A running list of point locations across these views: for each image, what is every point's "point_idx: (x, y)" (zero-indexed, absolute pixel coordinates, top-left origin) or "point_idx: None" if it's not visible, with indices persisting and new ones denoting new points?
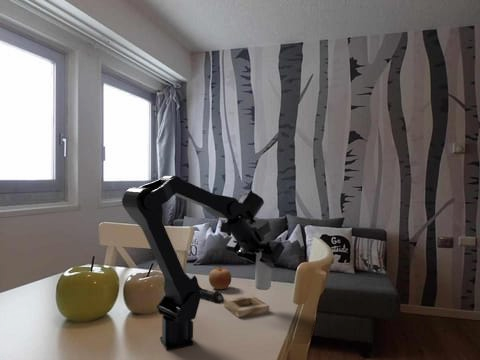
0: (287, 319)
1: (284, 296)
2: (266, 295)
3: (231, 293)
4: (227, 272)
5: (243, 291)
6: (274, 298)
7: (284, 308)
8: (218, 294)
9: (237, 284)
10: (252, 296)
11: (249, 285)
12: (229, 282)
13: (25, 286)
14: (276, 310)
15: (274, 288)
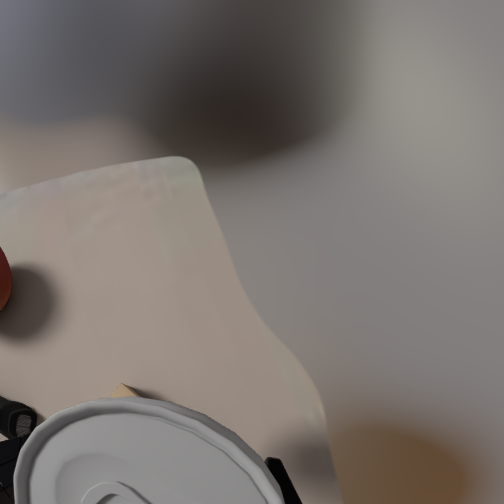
0: (330, 481)
1: (220, 270)
2: (152, 292)
3: (33, 327)
4: None
5: (63, 289)
6: (193, 309)
7: (276, 395)
8: (11, 426)
9: (35, 232)
10: (125, 396)
11: (70, 223)
12: (6, 287)
13: None
14: (257, 431)
15: (157, 211)
